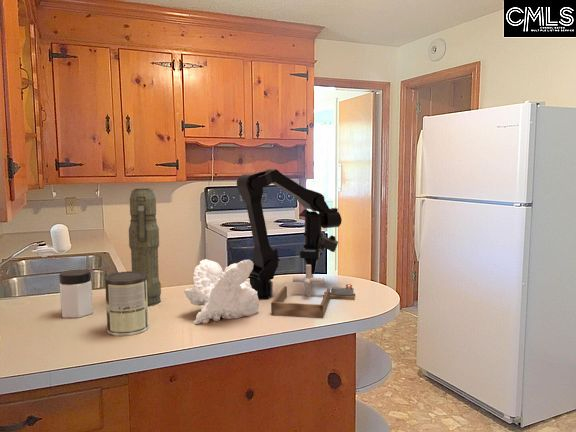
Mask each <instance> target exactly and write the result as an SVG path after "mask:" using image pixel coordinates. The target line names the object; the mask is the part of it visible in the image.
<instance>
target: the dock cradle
mask: <svg viewBox="0 0 576 432" xmlns="http://www.w3.org/2000/svg"><path fill="white" fill-rule="evenodd" d="M287 298H288V286H287V285H284V286H283V287H282V289H281V290H280V291H279V292H278V293H277V295H276V296H275V297H274V299H273V300H272V301H271V303H270V304H271V305H270V306H271V309H270V311H271V313H270V314H271V316H283V317H300V318H302V317H303V318H317V319H319V318H320V319H323V318H324V315H325V313H326V311H327V307H328V305H329V303H330V300H345V301H355V300H356V293H355V292H354V296H336V295H331V288H326V291H324V292H323V295H322V300H321V303H320V304H315V303H296V302H295V303H292V302H285V301H286V299H287Z"/></svg>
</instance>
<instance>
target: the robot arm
mask: <svg viewBox="0 0 576 432" xmlns="http://www.w3.org/2000/svg"><path fill="white" fill-rule="evenodd" d="M270 185H274V186H276V187H277V188H279V189H281V190H282V191H284V192H285V193H287V194H289V195H291V196H292V197H294V198H295V199H296V200H297V202H298V203H299V204H300V205H301V206H302V207H303V208H304V209H303V210H302V212H300V213H299V215H298V216H299V217H303V218H304V232H303V237H304V244H303V248H302V250H301V251H299V258H300V259H304V261H305V264H306V265H311V274H312V275H315V273H316V269H317V265H318V260H319V259H320V258H321V256H322V255H323V254H324V252H321V251H320V250H322V251H325V250H328V251H330V252H332V253H334V252H336V249H337V247H338V244H339V241H338V240H336V236H334V235H330V236H329V237H328V236H324V232H323V231H322V229H331V228H332V229H333V228H339V227H340V226H341V224H342V216H341V214H340V212H339V208H337V207H331V208H330V207H329V205H328V203H326V201H325V196H324V194H322V193H320V192H317V191H315V190H311V189H308V188H306V187H303V186H302V185H300V184H299V183H297V181H294V180H293V179H291V178H290V177H288V176H286V175H285V174H283V173H281V172H280V170H278V169H276V168H274V169H273V168H272V169H271V168H270V169H266V170H263V171H259V172H257V173H256V172H255V173H251V174H250V173H246V174H241V175H239V176H238V178H237V180H236V188H237V190H238V192H239V196H240V197H241V199H242V200H243V201H244V203H245V206H246V211H247V215H248V221H249V224H250V225H249V226H250V231H251V235H252V240H253V244H254V248H253V253H252V262H253V263H254V265H253V270H252V271H251V273H250V275H249V283H250V285H251V287H252V289H254V290H255V291H257V295H258V299H262V300H268V299H270V297H271V296H272V295H273V290H274V289H273V286H274V285H273V284H274V283H273V281H272V280H273V279H274V277H275V274H276V271H277V269H278V267H279V262H280V258H279V255H278V248H275V247H272V246H271V245H270V244H271V243H270V241H269V236H268V230H267V226H266V225H267V224H266V220H265V216H264V210H263V205H262V199H263V195H264V188H266V187H268V186H270ZM309 210H310V211H309Z"/></svg>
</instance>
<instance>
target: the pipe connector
mask: <svg viewBox="0 0 576 432" xmlns="http://www.w3.org/2000/svg"><path fill="white" fill-rule="evenodd" d="M292 283H301V284H302V285H303V287H305V297H311V296H312V284H325V277H314V274H311V265H307V264H305V276H293V277H292Z"/></svg>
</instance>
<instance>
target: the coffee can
mask: <svg viewBox="0 0 576 432" xmlns="http://www.w3.org/2000/svg"><path fill="white" fill-rule="evenodd" d="M104 284H105V286H104V287H105V288H104V289H105V305H106V306H105V307H106V308H105V310H106V324H107V328H106V329H107V331H106V332H107V334H109V335H111V336H114V337H115V336H116V337H118V336H119V337H120V336H121V337H125V336H126V337H127V336H133V335H137V334H141V333H143V332H145V331H147V330H148V329H149V328H150V325H149V306H148V302H147V274H146V273H144V272H138V271H132V270H131V271H117V272H114V273H110V274H107V275H106V276H104Z"/></svg>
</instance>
